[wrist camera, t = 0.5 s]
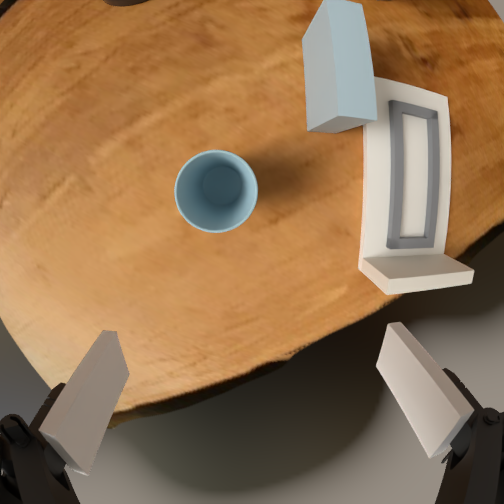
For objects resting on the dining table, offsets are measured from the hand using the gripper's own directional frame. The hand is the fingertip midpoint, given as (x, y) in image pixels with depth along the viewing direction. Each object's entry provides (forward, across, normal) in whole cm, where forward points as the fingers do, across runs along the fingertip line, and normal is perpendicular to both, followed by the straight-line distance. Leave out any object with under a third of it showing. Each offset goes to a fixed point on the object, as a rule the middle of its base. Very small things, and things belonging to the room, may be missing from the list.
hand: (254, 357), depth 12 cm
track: (+26, +24, +8) cm, 36 cm away
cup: (+26, -3, +6) cm, 27 cm away
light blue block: (+26, +10, +20) cm, 34 cm away
